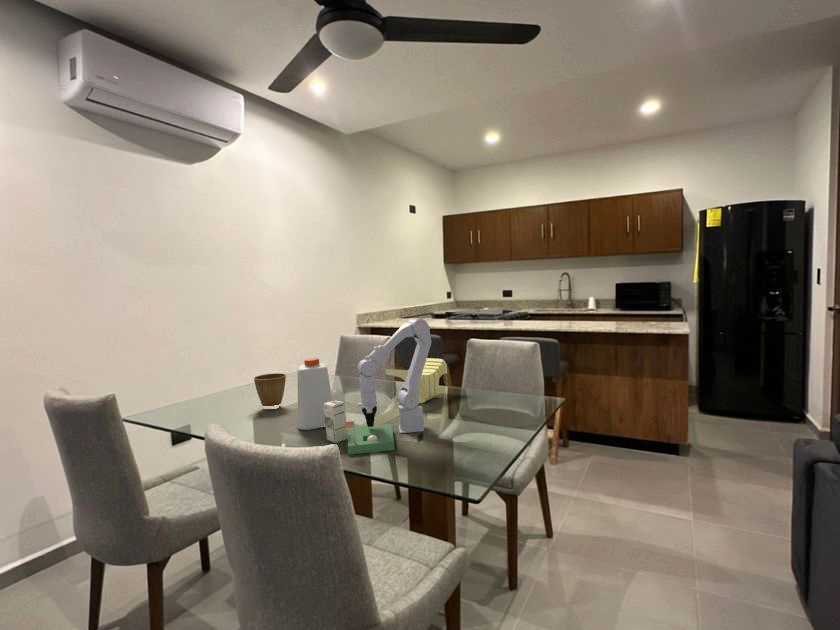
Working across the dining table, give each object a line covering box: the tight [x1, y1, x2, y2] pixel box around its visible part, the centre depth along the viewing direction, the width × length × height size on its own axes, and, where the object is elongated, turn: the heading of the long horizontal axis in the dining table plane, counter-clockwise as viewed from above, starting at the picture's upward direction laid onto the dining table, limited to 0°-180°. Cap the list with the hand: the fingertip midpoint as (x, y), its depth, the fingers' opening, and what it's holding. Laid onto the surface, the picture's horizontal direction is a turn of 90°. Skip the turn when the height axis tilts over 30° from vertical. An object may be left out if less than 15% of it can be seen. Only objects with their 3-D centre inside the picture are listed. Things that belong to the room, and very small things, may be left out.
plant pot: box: [253, 372, 287, 407], centre depth 218 cm, size 15×15×16 cm
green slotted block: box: [344, 420, 396, 456], centre depth 163 cm, size 17×20×11 cm
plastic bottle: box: [297, 357, 333, 431], centre depth 188 cm, size 15×15×28 cm
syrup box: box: [324, 400, 348, 444], centre depth 168 cm, size 6×6×14 cm
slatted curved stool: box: [385, 357, 448, 404], centre depth 219 cm, size 30×16×18 cm, turn 147°
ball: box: [367, 435, 378, 441], centre depth 159 cm, size 4×4×4 cm
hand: (370, 426), depth 170 cm, fingers closed
